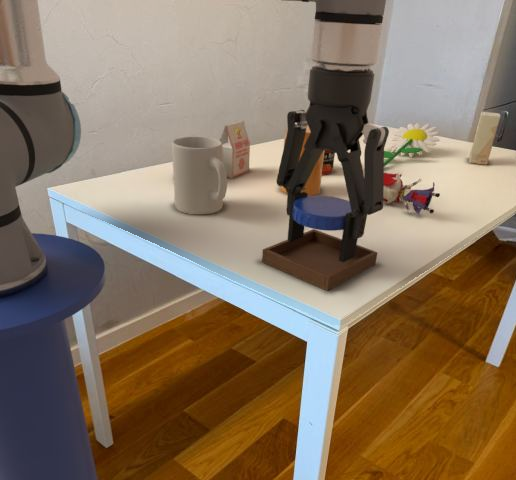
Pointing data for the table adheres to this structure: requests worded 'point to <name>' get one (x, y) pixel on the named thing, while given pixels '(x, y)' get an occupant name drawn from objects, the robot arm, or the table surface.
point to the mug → (198, 175)
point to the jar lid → (321, 212)
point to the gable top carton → (235, 149)
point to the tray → (318, 259)
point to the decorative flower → (411, 141)
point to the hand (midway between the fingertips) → (320, 248)
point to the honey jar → (315, 177)
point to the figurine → (407, 193)
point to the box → (484, 137)
